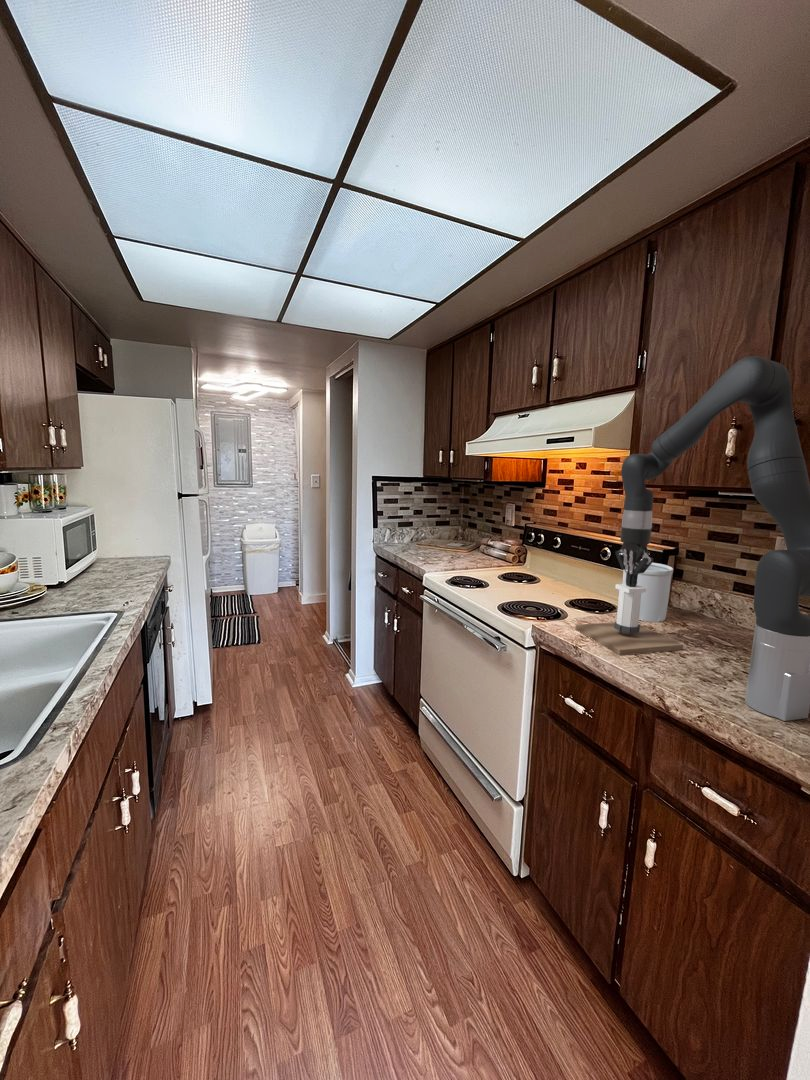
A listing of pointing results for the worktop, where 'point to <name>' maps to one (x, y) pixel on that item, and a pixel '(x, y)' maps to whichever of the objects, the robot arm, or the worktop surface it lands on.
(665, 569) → the utensil holder
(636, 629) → the o ring
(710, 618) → the worktop surface
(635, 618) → the sleeve
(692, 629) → the worktop surface
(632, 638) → the pipe stand
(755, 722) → the worktop surface
